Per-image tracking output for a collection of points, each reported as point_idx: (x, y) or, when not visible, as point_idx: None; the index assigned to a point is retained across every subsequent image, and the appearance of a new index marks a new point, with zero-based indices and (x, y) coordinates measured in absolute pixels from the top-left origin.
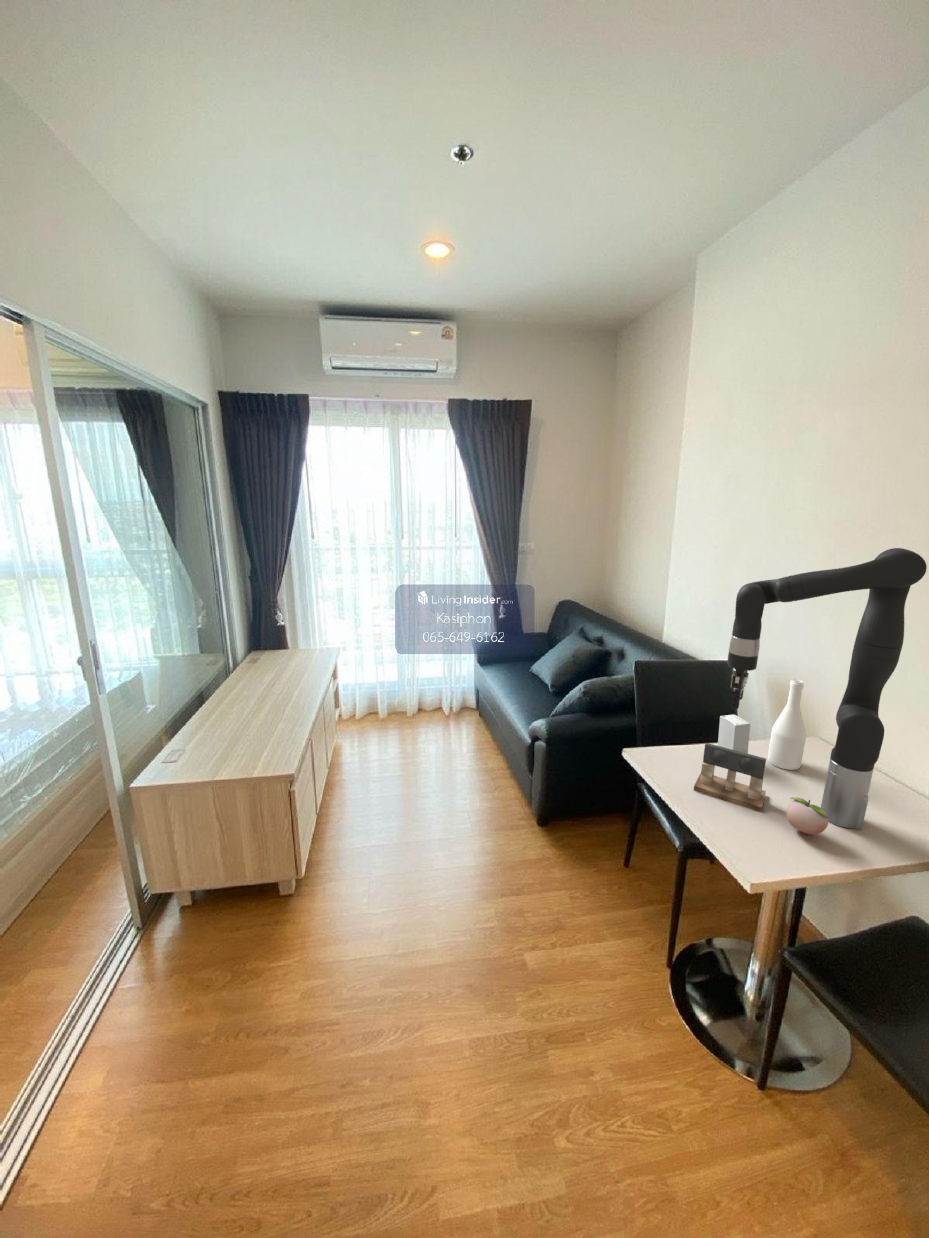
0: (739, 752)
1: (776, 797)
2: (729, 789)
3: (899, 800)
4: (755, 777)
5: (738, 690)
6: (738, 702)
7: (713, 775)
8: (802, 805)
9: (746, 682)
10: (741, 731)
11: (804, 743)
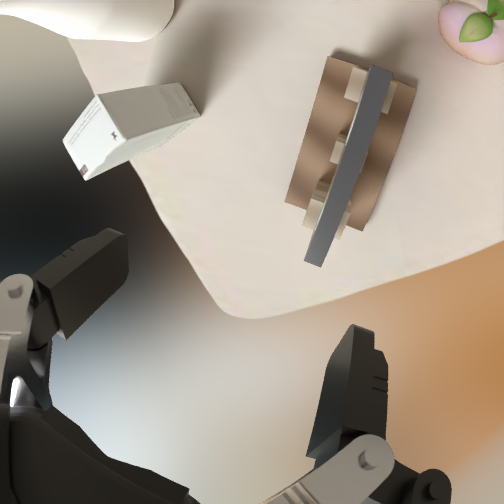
0: (352, 157)
1: (327, 34)
2: None
3: None
4: None
5: (78, 302)
6: (369, 380)
7: (318, 184)
8: (500, 35)
9: (7, 359)
10: (131, 114)
11: None
